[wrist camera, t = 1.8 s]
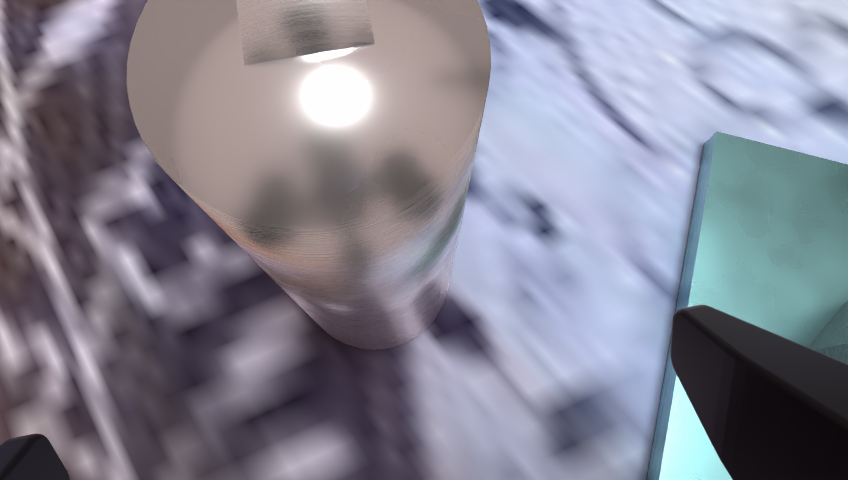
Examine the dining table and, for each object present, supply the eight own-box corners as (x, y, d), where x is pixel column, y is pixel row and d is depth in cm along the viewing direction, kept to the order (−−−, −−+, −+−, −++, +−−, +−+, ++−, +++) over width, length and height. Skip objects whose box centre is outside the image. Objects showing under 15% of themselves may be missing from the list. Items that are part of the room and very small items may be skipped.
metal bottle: (463, 334, 20) (531, 183, 8) (312, 363, 20) (130, 254, 7) (420, 132, 23) (419, -245, 10) (284, 155, 22) (103, -202, 10)
